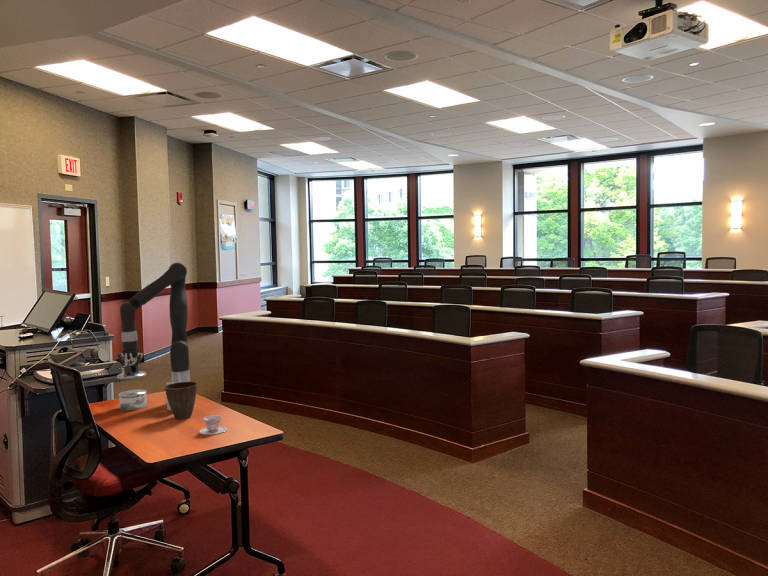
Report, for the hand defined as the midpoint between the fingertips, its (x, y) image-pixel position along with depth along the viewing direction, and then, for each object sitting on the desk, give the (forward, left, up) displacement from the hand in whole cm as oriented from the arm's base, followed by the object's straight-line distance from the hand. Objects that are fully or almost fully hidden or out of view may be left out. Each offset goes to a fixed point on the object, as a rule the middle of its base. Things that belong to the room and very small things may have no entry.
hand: (131, 372), depth 301 cm
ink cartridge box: (-26, +3, -19) cm, 32 cm away
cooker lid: (0, 0, -2) cm, 2 cm away
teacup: (-61, +36, -19) cm, 73 cm away
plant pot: (-36, +16, -19) cm, 44 cm away
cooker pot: (0, 0, -19) cm, 19 cm away
